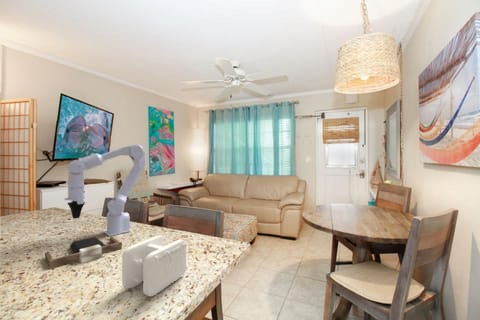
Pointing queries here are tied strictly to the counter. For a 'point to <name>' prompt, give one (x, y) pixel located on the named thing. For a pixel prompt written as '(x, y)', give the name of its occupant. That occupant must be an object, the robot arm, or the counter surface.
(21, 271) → the counter surface
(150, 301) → the counter surface
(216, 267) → the counter surface
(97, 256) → the charging dock
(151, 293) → the cable organizer
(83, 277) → the counter surface
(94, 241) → the black rounded slab
